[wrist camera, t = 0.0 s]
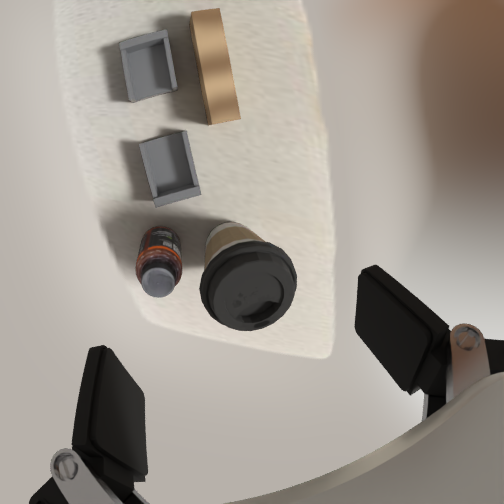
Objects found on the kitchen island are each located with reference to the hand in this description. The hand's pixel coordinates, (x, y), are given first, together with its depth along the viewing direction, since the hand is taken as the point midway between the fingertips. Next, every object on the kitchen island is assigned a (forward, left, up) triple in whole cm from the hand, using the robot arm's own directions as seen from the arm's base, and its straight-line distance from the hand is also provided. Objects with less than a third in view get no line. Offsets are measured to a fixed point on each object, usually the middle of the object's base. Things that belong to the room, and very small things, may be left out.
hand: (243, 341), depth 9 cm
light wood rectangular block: (-15, +6, -32) cm, 35 cm away
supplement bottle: (+8, -7, -31) cm, 33 cm away
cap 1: (-17, -2, -31) cm, 36 cm away
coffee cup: (+11, +3, -31) cm, 33 cm away
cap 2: (-3, -2, -31) cm, 31 cm away
